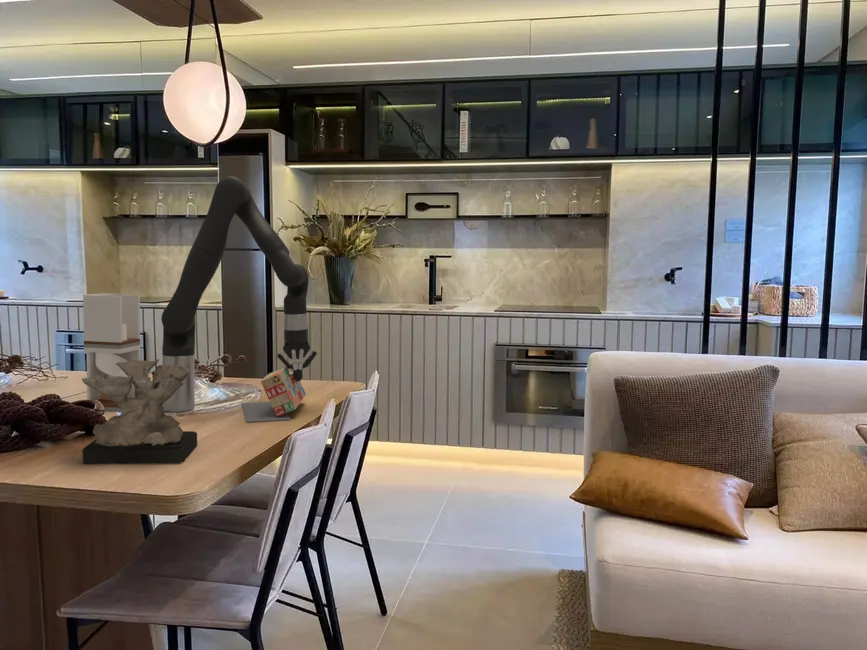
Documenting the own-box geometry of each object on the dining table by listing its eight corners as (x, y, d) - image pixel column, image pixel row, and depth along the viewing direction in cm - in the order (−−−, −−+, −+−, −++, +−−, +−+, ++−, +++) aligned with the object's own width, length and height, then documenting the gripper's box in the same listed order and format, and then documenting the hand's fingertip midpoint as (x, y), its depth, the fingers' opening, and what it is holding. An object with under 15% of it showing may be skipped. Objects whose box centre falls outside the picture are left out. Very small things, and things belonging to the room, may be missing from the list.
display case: (85, 409, 180) (83, 294, 177) (106, 401, 191) (104, 293, 188) (121, 411, 180) (119, 296, 176) (140, 403, 190) (139, 295, 187)
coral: (65, 464, 133) (63, 370, 131) (104, 438, 153) (103, 356, 151) (181, 464, 136) (181, 372, 134) (205, 439, 156) (205, 358, 154)
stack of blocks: (289, 401, 200) (274, 368, 198) (306, 394, 200) (291, 361, 198) (276, 417, 178) (259, 380, 177) (295, 409, 178) (279, 372, 177)
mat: (246, 422, 173) (246, 421, 173) (241, 404, 195) (241, 403, 195) (290, 420, 177) (290, 419, 177) (280, 402, 200) (280, 401, 199)
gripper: (314, 325, 194) (316, 376, 196) (273, 327, 189) (275, 380, 191) (318, 328, 187) (320, 381, 189) (275, 330, 182) (278, 385, 185)
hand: (297, 380), depth 190 cm, fingers closed
